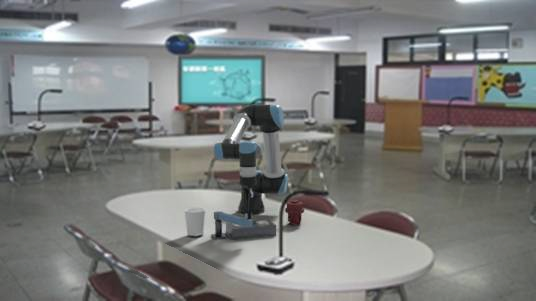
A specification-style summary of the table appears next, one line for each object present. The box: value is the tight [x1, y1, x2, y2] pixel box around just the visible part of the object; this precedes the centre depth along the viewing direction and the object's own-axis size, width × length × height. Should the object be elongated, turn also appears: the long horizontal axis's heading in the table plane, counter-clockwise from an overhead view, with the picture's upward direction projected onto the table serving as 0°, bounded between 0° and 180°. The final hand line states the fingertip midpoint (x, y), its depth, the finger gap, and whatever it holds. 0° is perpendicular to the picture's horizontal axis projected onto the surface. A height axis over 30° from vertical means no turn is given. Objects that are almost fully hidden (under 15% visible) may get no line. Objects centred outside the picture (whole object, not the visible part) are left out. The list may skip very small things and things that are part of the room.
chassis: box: [225, 219, 277, 240], centre depth 263 cm, size 12×22×5 cm, turn 108°
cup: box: [184, 206, 206, 238], centre depth 261 cm, size 10×10×13 cm
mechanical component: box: [284, 199, 305, 226], centre depth 282 cm, size 12×10×10 cm
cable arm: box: [213, 211, 253, 228], centre depth 251 cm, size 24×4×3 cm, turn 46°
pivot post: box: [210, 219, 227, 240], centre depth 258 cm, size 6×6×9 cm
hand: (248, 226), depth 247 cm, fingers closed
